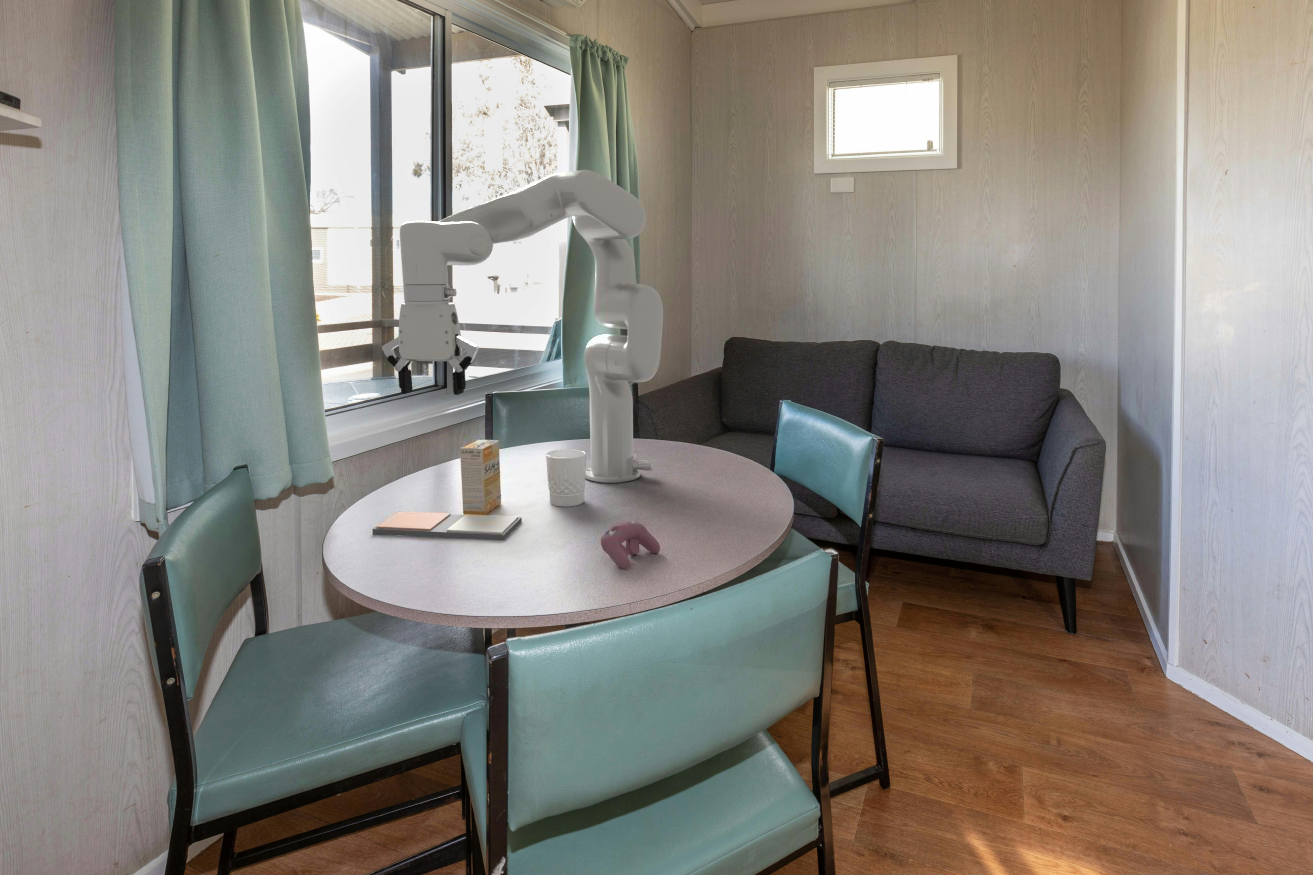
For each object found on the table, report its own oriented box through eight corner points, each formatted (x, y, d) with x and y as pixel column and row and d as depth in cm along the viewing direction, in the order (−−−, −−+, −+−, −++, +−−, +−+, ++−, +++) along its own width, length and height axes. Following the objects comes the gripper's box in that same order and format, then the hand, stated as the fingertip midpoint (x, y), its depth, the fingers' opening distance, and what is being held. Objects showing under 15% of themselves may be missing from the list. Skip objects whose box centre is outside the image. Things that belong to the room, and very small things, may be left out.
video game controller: (644, 557, 134) (628, 518, 134) (664, 550, 131) (648, 511, 132) (607, 576, 126) (591, 534, 126) (628, 569, 123) (612, 526, 124)
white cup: (593, 498, 162) (592, 450, 160) (576, 509, 155) (575, 459, 153) (558, 495, 165) (556, 447, 163) (540, 505, 158) (538, 456, 156)
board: (521, 522, 147) (521, 515, 147) (504, 540, 137) (503, 533, 137) (398, 516, 150) (398, 510, 150) (372, 534, 141) (372, 527, 140)
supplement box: (486, 516, 151) (482, 448, 148) (462, 514, 152) (458, 447, 149) (502, 503, 159) (500, 439, 156) (480, 502, 160) (476, 438, 157)
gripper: (482, 294, 141) (486, 390, 144) (389, 294, 143) (396, 389, 147) (466, 296, 133) (471, 397, 137) (369, 296, 136) (376, 395, 139)
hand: (432, 393), depth 142 cm, fingers open, 9 cm apart
